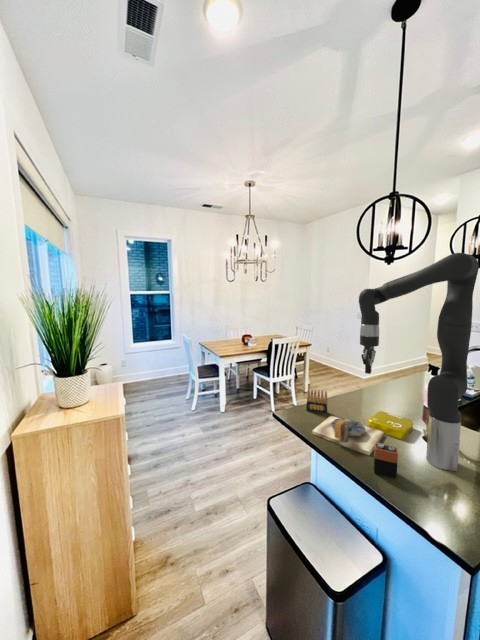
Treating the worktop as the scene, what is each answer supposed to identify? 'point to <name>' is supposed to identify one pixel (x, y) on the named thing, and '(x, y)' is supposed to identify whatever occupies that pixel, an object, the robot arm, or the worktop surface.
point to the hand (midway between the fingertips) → (368, 373)
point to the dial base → (357, 443)
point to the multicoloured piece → (354, 431)
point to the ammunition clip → (316, 402)
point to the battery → (385, 460)
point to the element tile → (391, 424)
